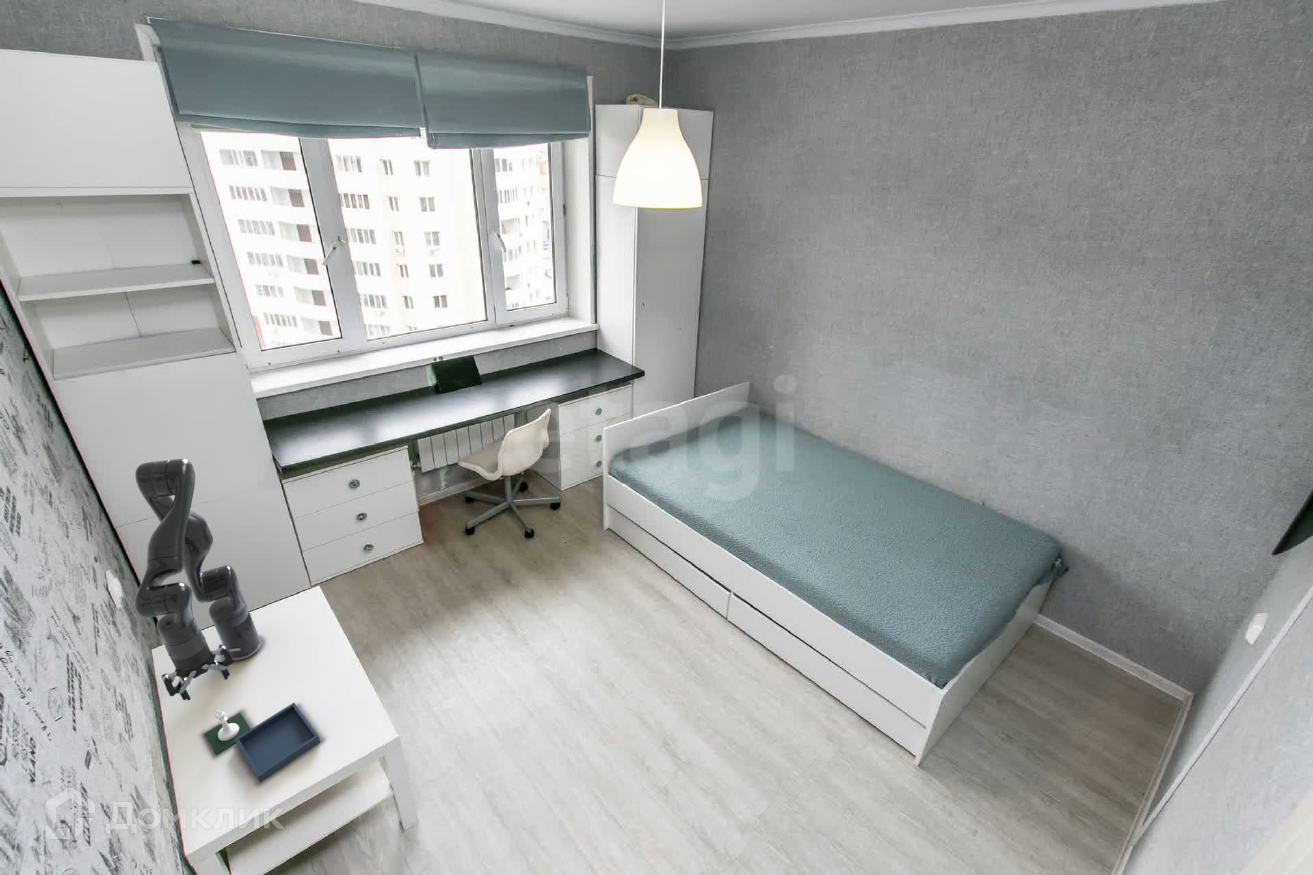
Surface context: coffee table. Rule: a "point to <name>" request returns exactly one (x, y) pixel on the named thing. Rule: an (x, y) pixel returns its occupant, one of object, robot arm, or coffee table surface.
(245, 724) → the pad
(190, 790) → the coffee table surface
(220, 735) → the chess piece
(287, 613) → the coffee table surface
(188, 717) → the coffee table surface
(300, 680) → the coffee table surface
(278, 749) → the tray
